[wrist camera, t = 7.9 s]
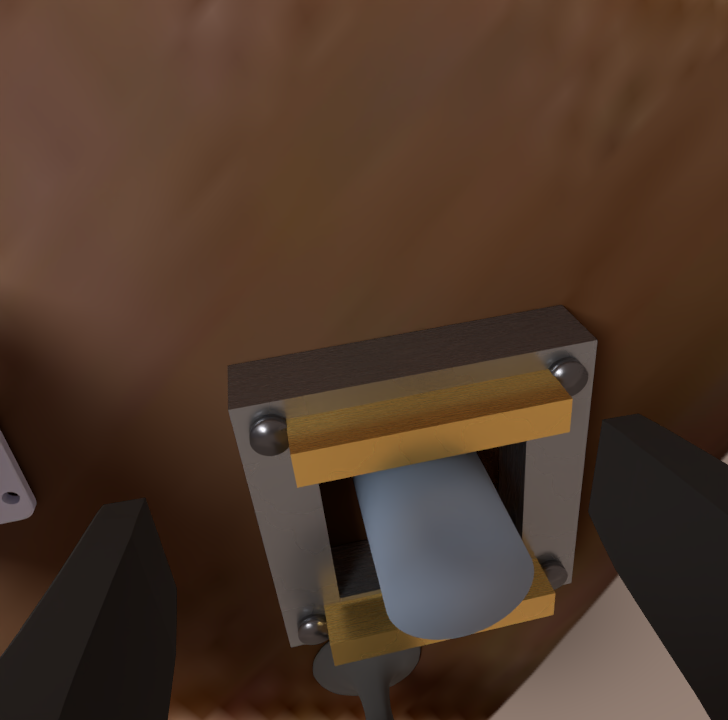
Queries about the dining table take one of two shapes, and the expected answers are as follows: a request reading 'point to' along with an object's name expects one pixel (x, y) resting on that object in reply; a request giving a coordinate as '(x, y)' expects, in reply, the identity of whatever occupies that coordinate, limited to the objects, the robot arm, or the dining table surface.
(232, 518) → the dining table surface
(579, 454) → the grey square frame
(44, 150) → the dining table surface
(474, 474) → the blue-grey rounded cylinder
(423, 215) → the dining table surface
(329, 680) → the sundae
